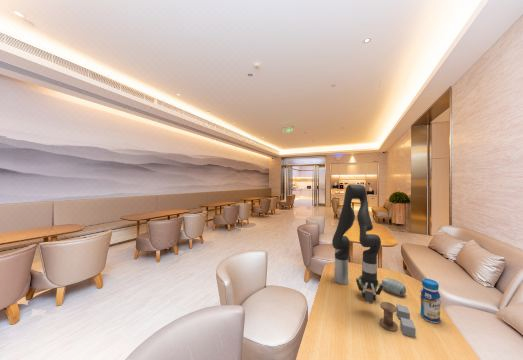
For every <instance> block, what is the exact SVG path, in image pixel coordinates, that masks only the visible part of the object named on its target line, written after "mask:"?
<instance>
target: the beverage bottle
mask: <svg viewBox="0 0 523 360" xmlns="http://www.w3.org/2000/svg"><path fill="white" fill-rule="evenodd" d="M421 282H422V283H421V285H422V287H421V289H420V294H419V299H420V316H421V318H422V319H424V320H425V321H427V322H430V323H432V324H433V323H434V324H439V323H440V322H441V303H442V301H441V294H440V292H439V287H440V285H439V282H437V281H436V280H434V279H431V278H422V280H421Z"/></svg>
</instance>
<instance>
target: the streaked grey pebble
mask: <svg viewBox="0 0 523 360" xmlns="http://www.w3.org/2000/svg"><path fill="white" fill-rule="evenodd" d="M381 283H382V284H383V289H384V290H385V291H386V292H388V293H391V294H394V295H396V296H398V297H399V296H401V297H403V296H405V295H406V294H407V289H406V286H405V284H404V283H403V282H401V281H400V280H397V279H394V278H388V277H385V278H382V280H381Z"/></svg>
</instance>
